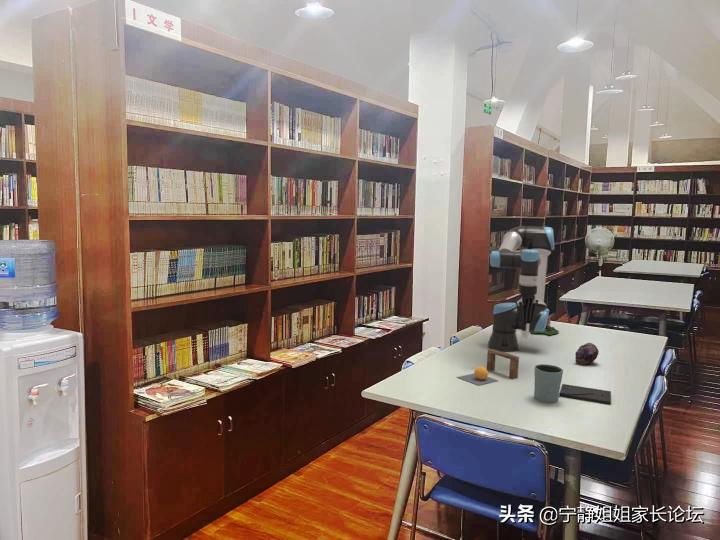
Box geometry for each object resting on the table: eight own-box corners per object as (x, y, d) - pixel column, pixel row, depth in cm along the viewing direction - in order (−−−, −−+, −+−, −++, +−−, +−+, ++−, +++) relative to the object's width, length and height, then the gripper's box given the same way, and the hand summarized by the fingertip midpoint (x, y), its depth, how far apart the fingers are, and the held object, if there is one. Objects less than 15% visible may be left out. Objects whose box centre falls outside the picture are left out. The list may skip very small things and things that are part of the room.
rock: (571, 366, 251) (595, 370, 244) (571, 348, 249) (595, 351, 242) (579, 357, 260) (602, 360, 253) (579, 339, 258) (602, 342, 251)
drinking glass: (540, 392, 208) (542, 362, 206) (565, 399, 201) (568, 368, 199) (527, 398, 201) (529, 367, 199) (553, 406, 193) (555, 373, 192)
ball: (471, 367, 222) (480, 363, 225) (472, 380, 222) (480, 376, 226) (481, 370, 217) (490, 366, 220) (482, 383, 218) (491, 379, 221)
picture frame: (559, 398, 204) (610, 406, 196) (559, 392, 204) (610, 401, 196) (562, 388, 216) (610, 396, 208) (562, 383, 216) (611, 390, 208)
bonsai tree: (517, 325, 333) (520, 274, 330) (559, 329, 324) (563, 277, 320) (510, 336, 301) (514, 281, 298) (556, 341, 292) (560, 284, 288)
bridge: (512, 379, 224) (514, 357, 223) (486, 370, 236) (487, 349, 235) (517, 377, 226) (519, 356, 225) (491, 369, 237) (492, 348, 236)
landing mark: (456, 377, 224) (456, 377, 224) (476, 373, 230) (476, 372, 230) (478, 385, 214) (478, 385, 214) (498, 381, 221) (498, 380, 221)
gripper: (525, 286, 228) (522, 341, 230) (544, 285, 235) (541, 337, 238) (511, 284, 234) (508, 337, 236) (530, 282, 241) (527, 334, 244)
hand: (524, 337), depth 237 cm, fingers closed
